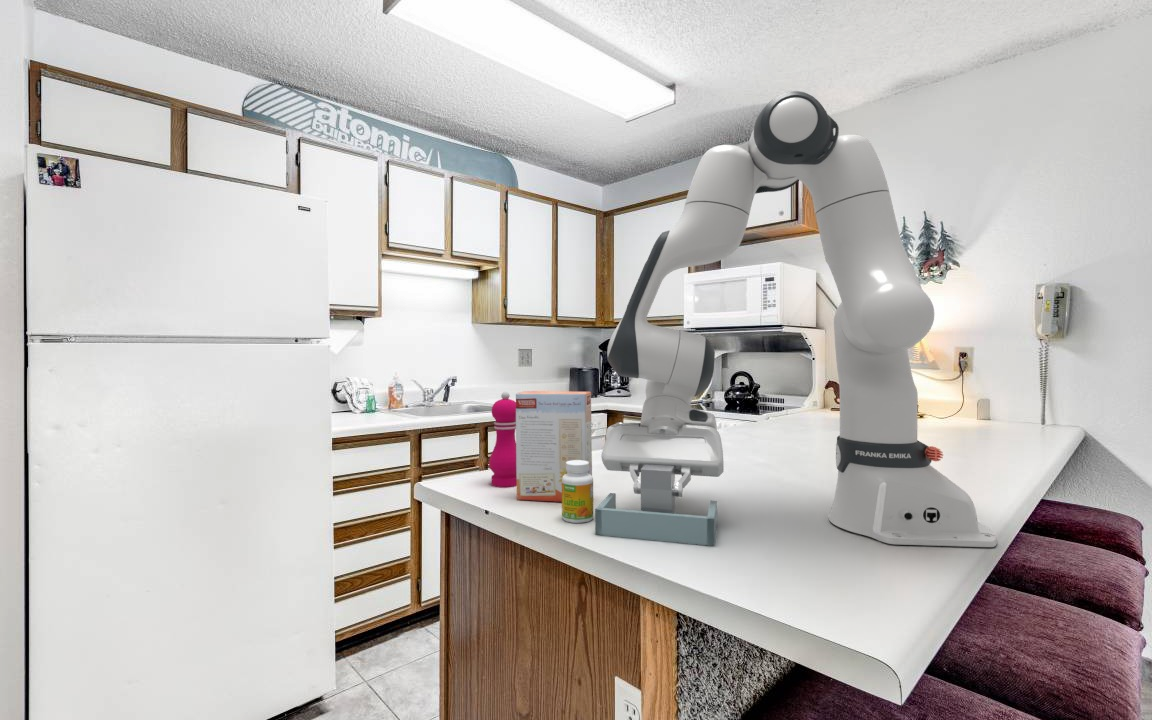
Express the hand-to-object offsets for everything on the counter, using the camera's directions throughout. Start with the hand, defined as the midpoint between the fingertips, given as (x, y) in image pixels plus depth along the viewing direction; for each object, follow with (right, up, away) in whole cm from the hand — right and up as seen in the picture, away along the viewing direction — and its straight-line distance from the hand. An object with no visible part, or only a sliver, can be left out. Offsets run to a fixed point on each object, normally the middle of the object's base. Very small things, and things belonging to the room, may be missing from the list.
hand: (657, 493), depth 86 cm
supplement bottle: (-13, -6, +6) cm, 16 cm away
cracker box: (-17, -6, +19) cm, 26 cm away
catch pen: (0, -6, +1) cm, 6 cm away
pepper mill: (-28, -6, +31) cm, 42 cm away
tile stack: (0, -5, +1) cm, 5 cm away
